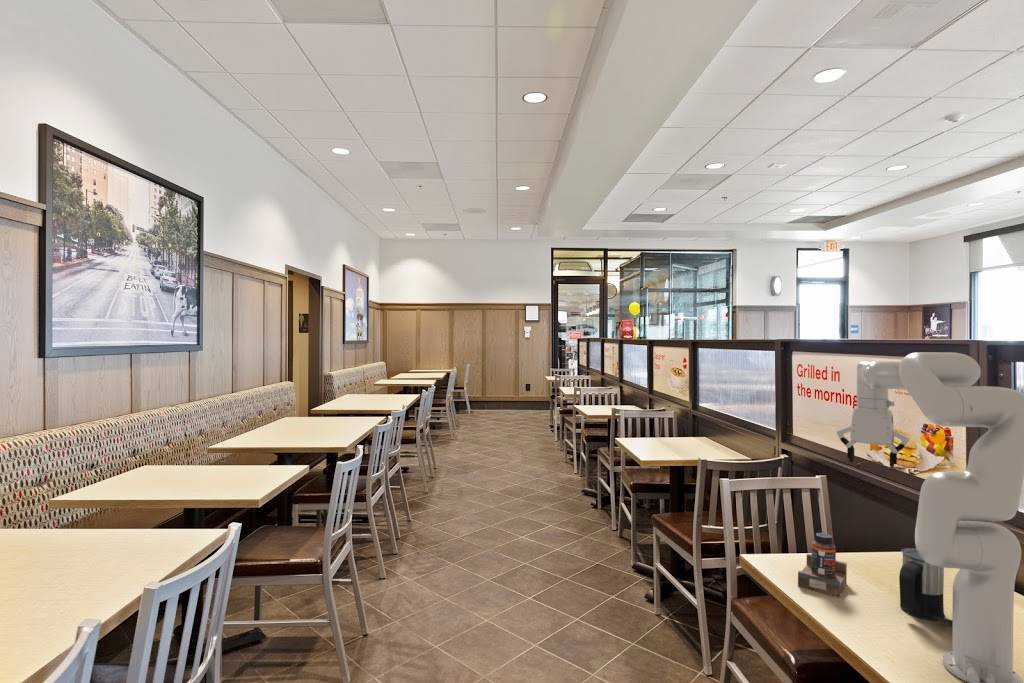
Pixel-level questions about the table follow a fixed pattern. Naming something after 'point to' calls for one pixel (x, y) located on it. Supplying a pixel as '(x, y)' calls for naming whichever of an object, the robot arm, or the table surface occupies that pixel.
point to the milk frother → (921, 587)
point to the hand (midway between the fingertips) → (871, 463)
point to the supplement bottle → (823, 556)
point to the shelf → (823, 579)
